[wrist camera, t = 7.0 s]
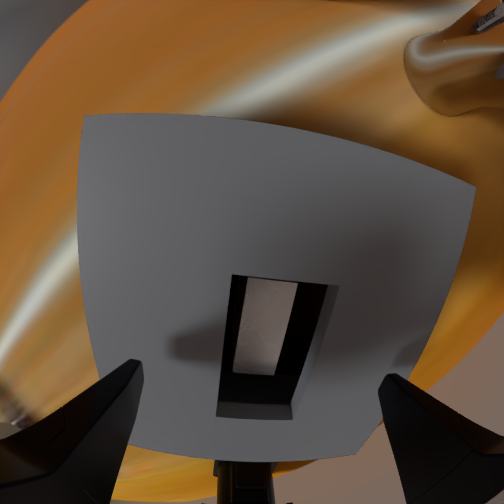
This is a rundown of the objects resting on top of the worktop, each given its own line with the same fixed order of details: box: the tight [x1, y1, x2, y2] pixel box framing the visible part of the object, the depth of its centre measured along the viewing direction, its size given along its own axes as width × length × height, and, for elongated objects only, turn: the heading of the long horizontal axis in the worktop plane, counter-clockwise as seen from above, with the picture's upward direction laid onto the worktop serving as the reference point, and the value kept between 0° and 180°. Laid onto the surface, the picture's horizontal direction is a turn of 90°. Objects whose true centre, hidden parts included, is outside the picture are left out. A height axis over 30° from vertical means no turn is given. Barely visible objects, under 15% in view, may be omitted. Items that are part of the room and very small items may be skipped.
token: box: [232, 275, 298, 375], centre depth 14 cm, size 5×2×5 cm, turn 171°
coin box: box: [77, 113, 476, 462], centre depth 13 cm, size 16×14×7 cm
